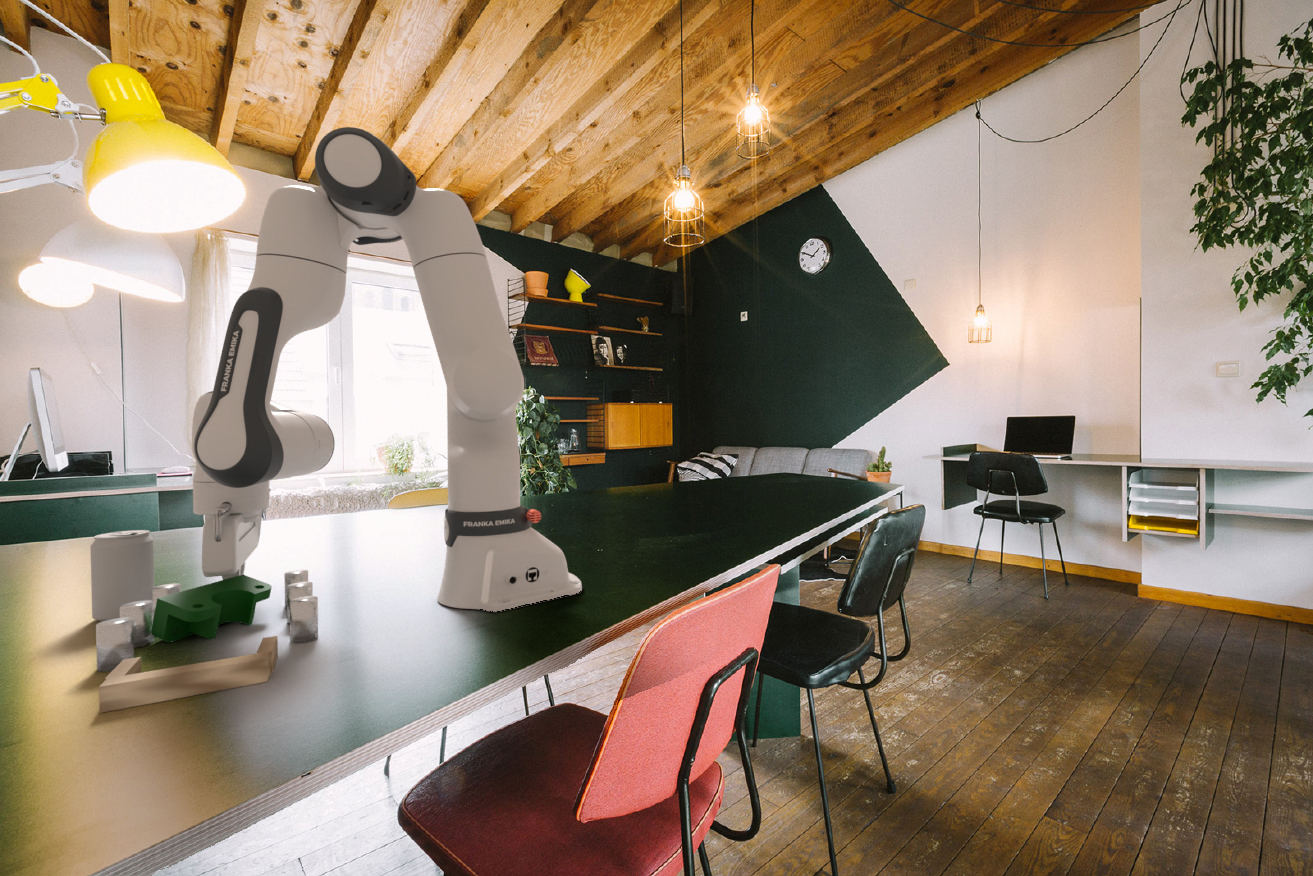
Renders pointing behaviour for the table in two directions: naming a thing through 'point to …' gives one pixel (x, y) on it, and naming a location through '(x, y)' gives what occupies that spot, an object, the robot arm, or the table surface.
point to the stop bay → (184, 678)
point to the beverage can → (120, 571)
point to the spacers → (138, 616)
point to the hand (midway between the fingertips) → (234, 592)
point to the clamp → (208, 608)
